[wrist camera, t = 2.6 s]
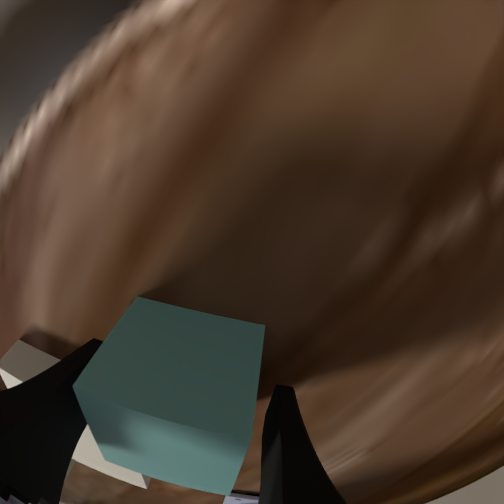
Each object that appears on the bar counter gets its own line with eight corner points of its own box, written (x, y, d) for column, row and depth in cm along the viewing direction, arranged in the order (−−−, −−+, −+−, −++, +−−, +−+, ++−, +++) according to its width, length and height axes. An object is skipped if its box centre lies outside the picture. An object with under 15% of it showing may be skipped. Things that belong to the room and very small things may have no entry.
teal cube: (265, 324, 11) (251, 439, 7) (244, 403, 13) (229, 495, 9) (137, 295, 11) (72, 386, 7) (143, 378, 13) (105, 460, 9)
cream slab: (148, 386, 14) (127, 430, 11) (158, 457, 18) (146, 489, 15) (22, 335, 14) (-5, 364, 12) (57, 416, 18) (41, 441, 15)
